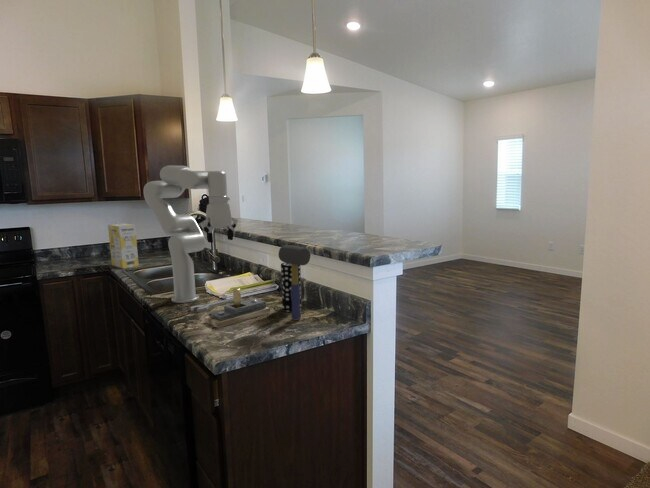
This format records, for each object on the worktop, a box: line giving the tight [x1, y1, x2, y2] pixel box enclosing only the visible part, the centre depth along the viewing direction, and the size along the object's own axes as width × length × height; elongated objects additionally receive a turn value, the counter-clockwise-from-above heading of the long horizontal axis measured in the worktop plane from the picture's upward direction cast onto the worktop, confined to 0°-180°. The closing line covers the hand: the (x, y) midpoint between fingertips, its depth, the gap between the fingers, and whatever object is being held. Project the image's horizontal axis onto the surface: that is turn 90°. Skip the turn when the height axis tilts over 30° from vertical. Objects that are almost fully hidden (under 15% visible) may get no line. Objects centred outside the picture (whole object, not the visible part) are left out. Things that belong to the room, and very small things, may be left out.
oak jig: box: [204, 306, 271, 329], centre depth 175 cm, size 10×25×2 cm, turn 135°
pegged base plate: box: [208, 297, 267, 321], centre depth 174 cm, size 8×22×4 cm, turn 135°
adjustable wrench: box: [190, 297, 234, 313], centre depth 193 cm, size 25×6×2 cm, turn 134°
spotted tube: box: [280, 262, 303, 313], centre depth 183 cm, size 8×8×20 cm
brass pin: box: [232, 287, 242, 308], centre depth 174 cm, size 3×3×10 cm
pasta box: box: [107, 223, 140, 269], centre depth 289 cm, size 18×10×28 cm, turn 47°
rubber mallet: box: [277, 244, 311, 321], centre depth 168 cm, size 12×8×30 cm, turn 45°
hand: (220, 241), depth 182 cm, fingers open, 9 cm apart
